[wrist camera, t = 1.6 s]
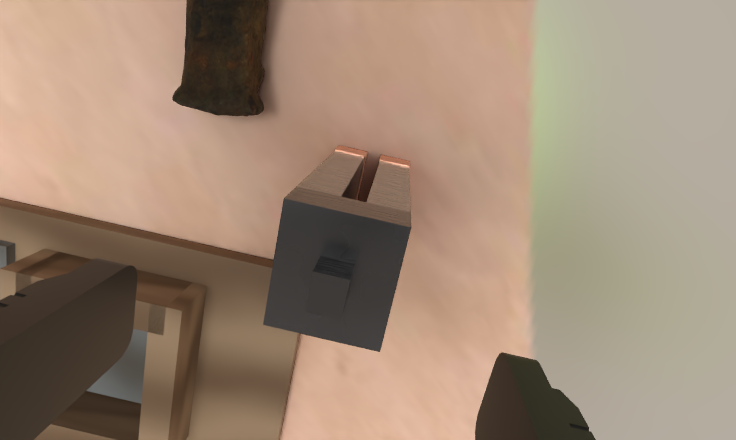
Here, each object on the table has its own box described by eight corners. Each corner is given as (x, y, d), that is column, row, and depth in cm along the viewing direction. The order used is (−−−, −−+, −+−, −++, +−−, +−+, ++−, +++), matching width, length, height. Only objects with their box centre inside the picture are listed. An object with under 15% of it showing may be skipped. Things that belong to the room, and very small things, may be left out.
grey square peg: (339, 145, 24) (270, 207, 12) (409, 161, 24) (414, 239, 12) (324, 220, 25) (248, 347, 13) (392, 235, 25) (378, 377, 13)
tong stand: (-35, 190, 26) (-110, 207, 23) (312, 269, 26) (296, 301, 22) (-27, 396, 30) (-90, 441, 27) (274, 467, 30) (255, 523, 26)
